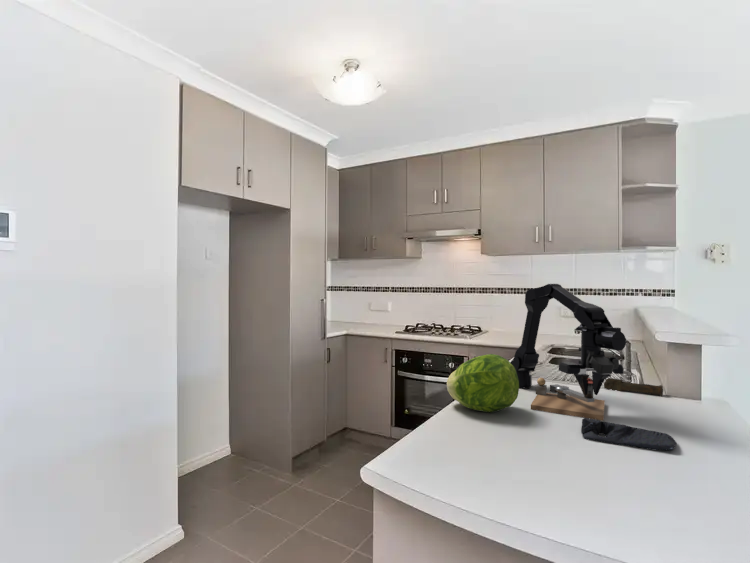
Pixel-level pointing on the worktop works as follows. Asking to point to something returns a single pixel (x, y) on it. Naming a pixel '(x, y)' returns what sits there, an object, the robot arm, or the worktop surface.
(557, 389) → the lever
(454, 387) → the lettuce
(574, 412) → the tan wooden panel
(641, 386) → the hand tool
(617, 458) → the worktop surface
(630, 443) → the dark slate chunk
